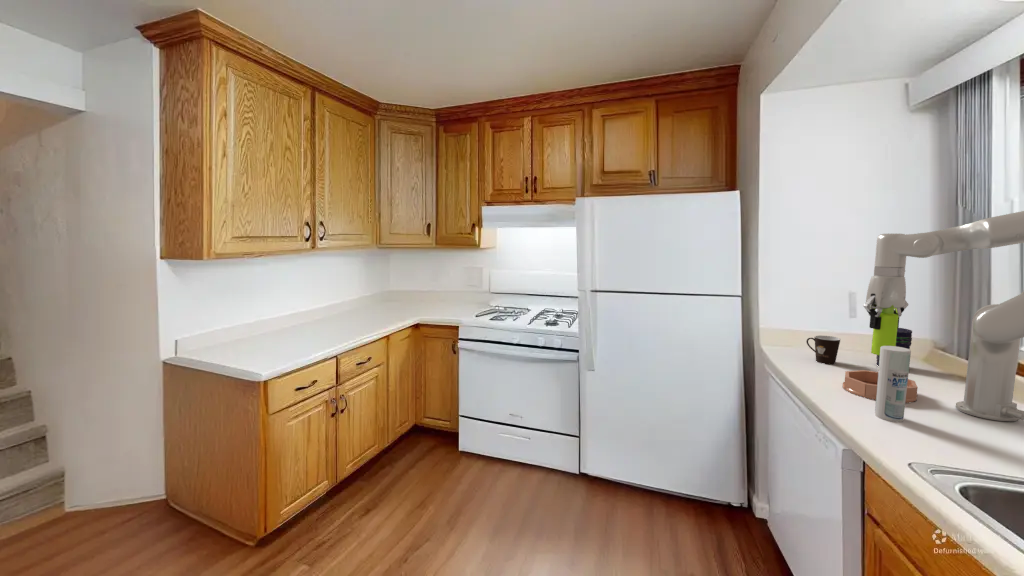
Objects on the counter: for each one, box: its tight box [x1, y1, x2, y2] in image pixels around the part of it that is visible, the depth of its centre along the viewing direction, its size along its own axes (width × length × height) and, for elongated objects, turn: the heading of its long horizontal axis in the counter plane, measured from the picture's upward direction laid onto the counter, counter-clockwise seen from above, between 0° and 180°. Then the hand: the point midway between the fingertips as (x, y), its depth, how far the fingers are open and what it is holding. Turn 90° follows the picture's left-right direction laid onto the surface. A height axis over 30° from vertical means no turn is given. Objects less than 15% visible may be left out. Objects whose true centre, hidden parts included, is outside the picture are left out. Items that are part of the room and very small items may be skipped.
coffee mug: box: [806, 335, 841, 365], centre depth 184 cm, size 12×9×10 cm
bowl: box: [842, 369, 918, 404], centre depth 148 cm, size 19×19×4 cm
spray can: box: [874, 346, 912, 423], centre depth 127 cm, size 6×6×20 cm
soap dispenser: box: [870, 305, 900, 356], centre depth 145 cm, size 6×7×20 cm
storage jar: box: [875, 327, 913, 367], centre depth 174 cm, size 10×10×15 cm
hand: (883, 327), depth 146 cm, fingers closed on soap dispenser, 5 cm apart
